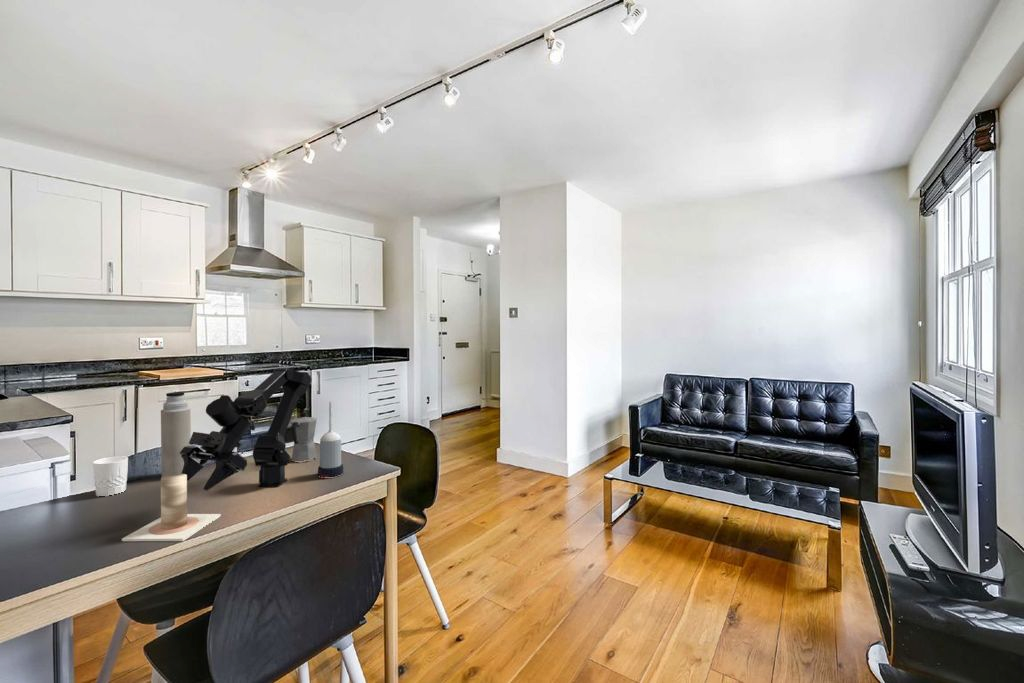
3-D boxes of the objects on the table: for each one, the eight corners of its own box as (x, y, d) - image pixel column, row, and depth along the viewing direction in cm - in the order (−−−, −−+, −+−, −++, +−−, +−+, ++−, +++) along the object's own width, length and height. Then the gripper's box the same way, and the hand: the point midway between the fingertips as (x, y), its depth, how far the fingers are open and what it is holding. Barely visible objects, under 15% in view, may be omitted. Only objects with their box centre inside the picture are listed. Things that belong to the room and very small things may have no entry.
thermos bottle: (184, 470, 157) (183, 390, 156) (195, 474, 153) (194, 392, 152) (157, 476, 150) (156, 392, 149) (167, 480, 146) (166, 394, 145)
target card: (220, 516, 119) (220, 513, 119) (182, 541, 105) (182, 538, 105) (166, 516, 119) (166, 513, 119) (121, 541, 105) (121, 538, 105)
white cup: (107, 488, 139) (107, 456, 138) (135, 487, 139) (134, 455, 139) (85, 498, 131) (85, 464, 131) (114, 497, 131) (114, 463, 131)
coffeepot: (300, 454, 178) (299, 409, 177) (323, 454, 177) (323, 409, 177) (279, 466, 162) (279, 416, 162) (305, 466, 162) (305, 416, 162)
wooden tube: (189, 519, 115) (189, 472, 115) (184, 527, 111) (183, 479, 110) (164, 522, 113) (164, 475, 113) (158, 531, 108) (157, 481, 108)
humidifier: (319, 480, 148) (318, 404, 147) (316, 473, 155) (316, 400, 154) (345, 476, 152) (345, 402, 151) (341, 469, 159) (341, 399, 158)
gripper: (185, 416, 123) (142, 468, 113) (236, 421, 117) (195, 477, 107) (213, 438, 131) (175, 488, 121) (262, 444, 125) (226, 497, 115)
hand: (191, 487), depth 116 cm, fingers open, 9 cm apart
